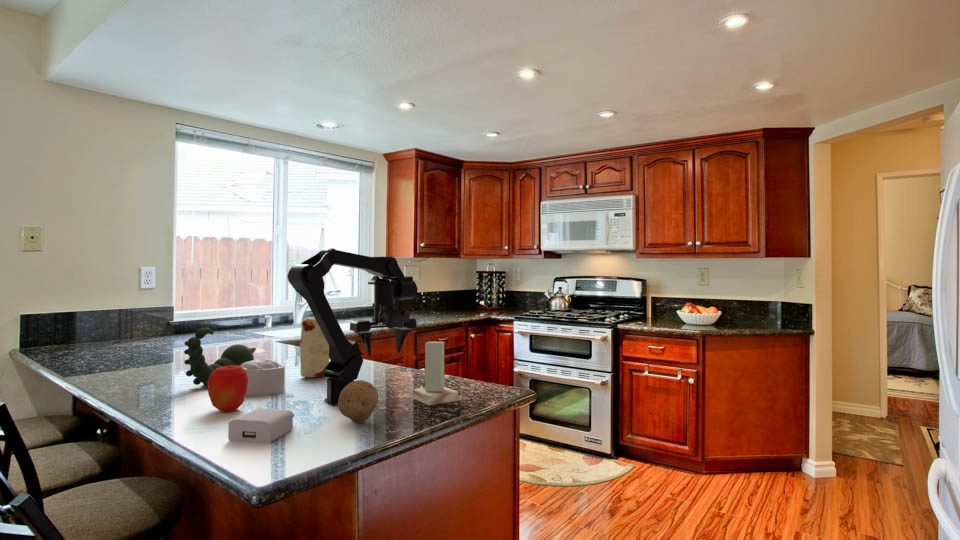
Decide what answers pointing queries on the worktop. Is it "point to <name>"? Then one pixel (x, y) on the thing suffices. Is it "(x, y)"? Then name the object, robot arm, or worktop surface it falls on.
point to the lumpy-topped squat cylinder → (264, 377)
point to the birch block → (435, 396)
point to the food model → (313, 349)
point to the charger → (260, 426)
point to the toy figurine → (198, 361)
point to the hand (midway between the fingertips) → (383, 354)
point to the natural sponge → (358, 401)
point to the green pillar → (434, 366)
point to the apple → (227, 387)
